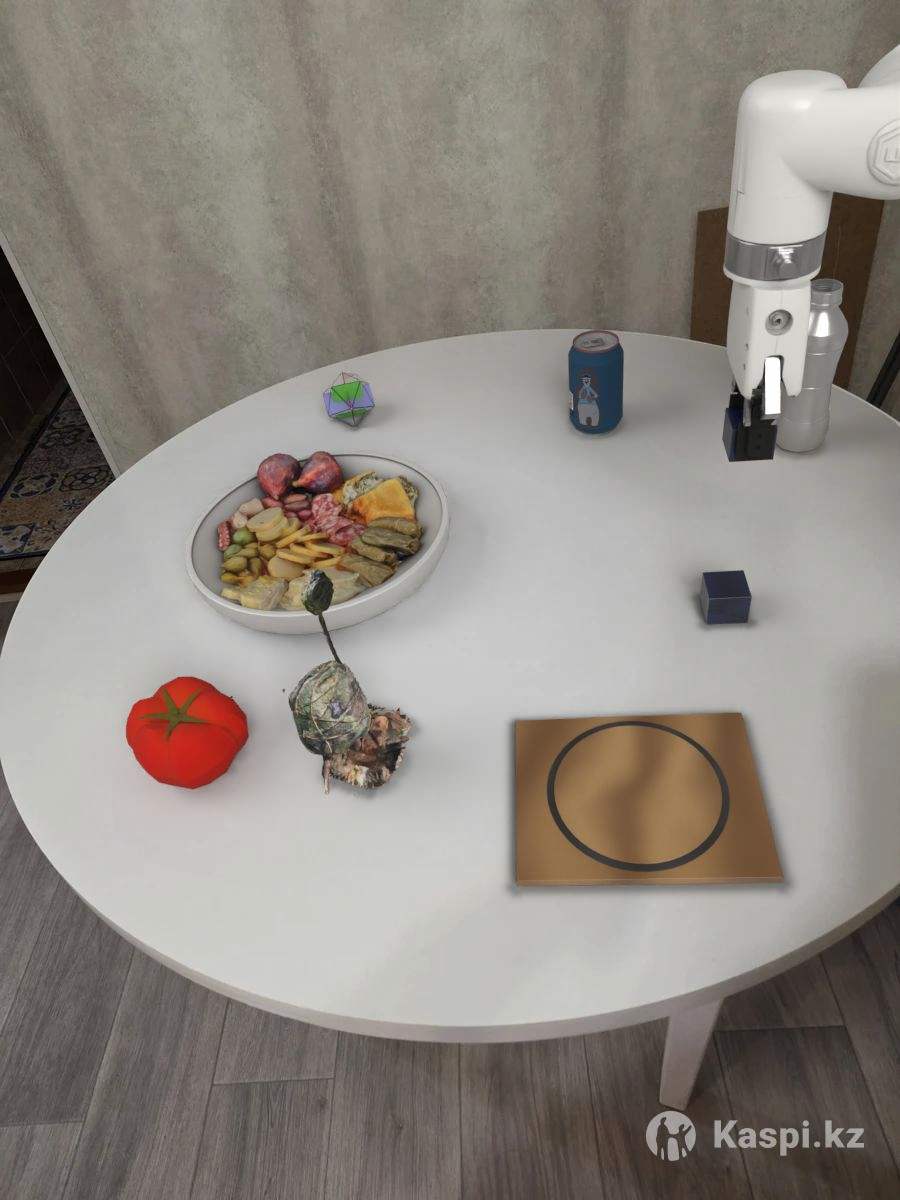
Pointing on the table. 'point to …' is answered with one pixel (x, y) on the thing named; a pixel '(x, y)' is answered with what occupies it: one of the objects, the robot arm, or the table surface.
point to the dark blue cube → (735, 431)
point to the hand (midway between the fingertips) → (748, 442)
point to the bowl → (318, 539)
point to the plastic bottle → (815, 371)
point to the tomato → (186, 733)
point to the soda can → (596, 382)
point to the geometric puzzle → (349, 397)
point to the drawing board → (640, 802)
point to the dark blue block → (725, 597)
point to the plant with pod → (344, 712)
